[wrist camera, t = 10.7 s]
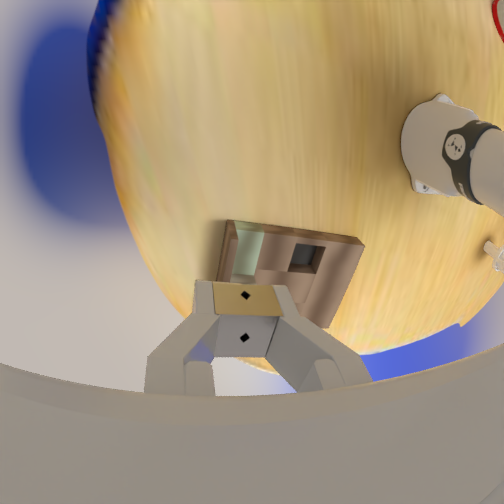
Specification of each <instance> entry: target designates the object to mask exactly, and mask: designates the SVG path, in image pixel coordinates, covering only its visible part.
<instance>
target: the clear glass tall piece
mask: <svg viewBox="0 0 504 504" xmlns="http://www.w3.org/2000/svg"><path fill="white" fill-rule="evenodd" d="M483 250H484V251H485V252H486V253H488V254H489V255H490V256H491V257H492V258H494V259H493V264H492V266H493V268H494V269H495V270H496V271H501V272H502V273H503V274H504V245H502V246H501V247H500V248H498V247H497V246H496V245H494V244H493V243H492V242H490V241H487V242H486V243H485V245H484V248H483Z"/></svg>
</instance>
